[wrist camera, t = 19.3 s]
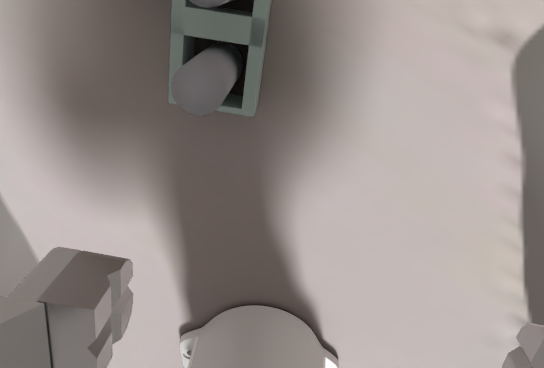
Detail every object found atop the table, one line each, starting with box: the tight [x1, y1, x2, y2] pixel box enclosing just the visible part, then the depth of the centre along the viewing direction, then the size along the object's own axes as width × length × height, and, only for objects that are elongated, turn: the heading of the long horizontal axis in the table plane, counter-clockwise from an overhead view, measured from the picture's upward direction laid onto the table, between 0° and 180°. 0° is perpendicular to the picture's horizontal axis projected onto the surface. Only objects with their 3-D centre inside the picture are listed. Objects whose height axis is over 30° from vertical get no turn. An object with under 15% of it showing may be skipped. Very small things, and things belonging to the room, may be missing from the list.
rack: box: [168, 0, 272, 117], centre depth 32 cm, size 13×7×10 cm, turn 172°
